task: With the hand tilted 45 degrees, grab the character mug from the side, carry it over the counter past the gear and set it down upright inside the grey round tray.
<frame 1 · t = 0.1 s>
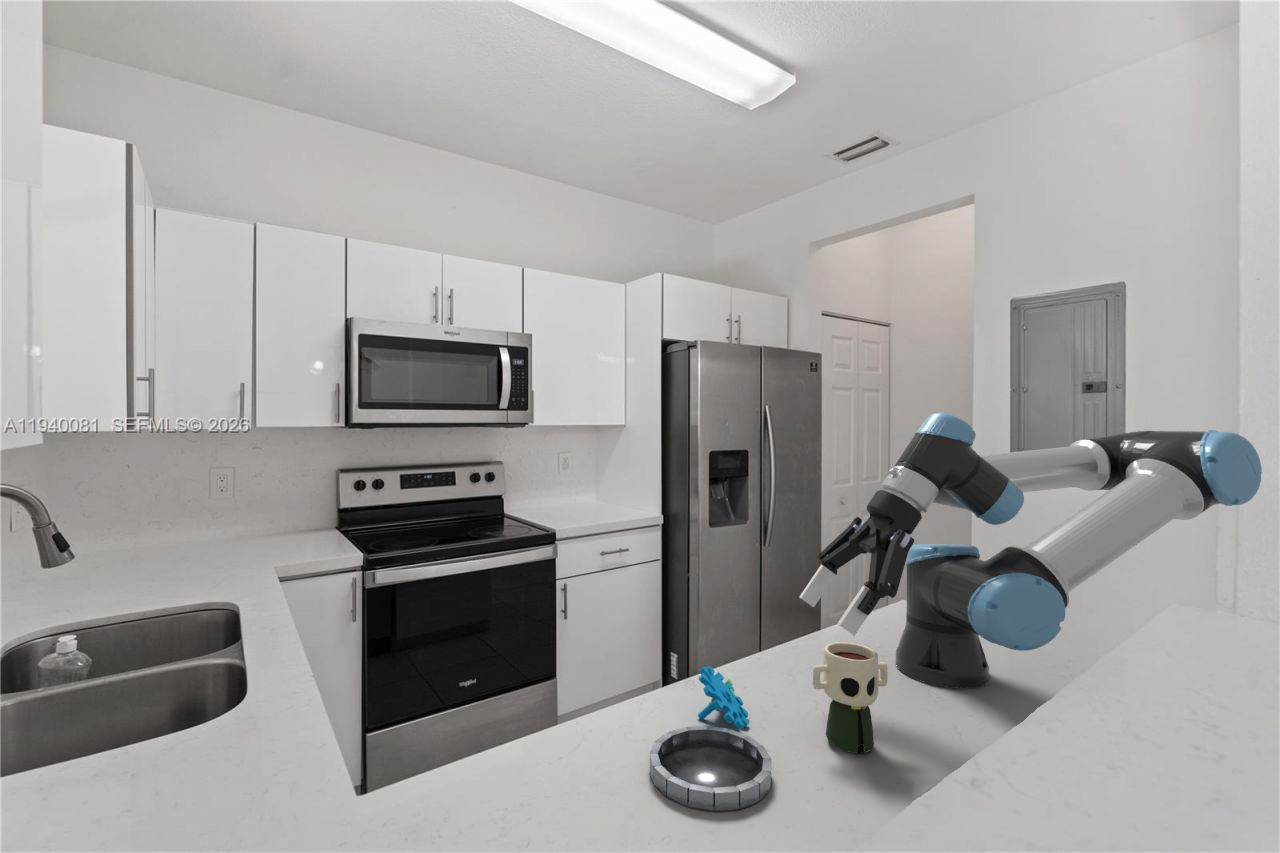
hand: (824, 615, 91), 15 cm above the countertop, tool tilted 35°, fingers open, 13 cm apart
gear: (723, 721, 89), on the countertop
grey round tray: (709, 773, 75), on the countertop
character mug: (849, 746, 82), on the countertop
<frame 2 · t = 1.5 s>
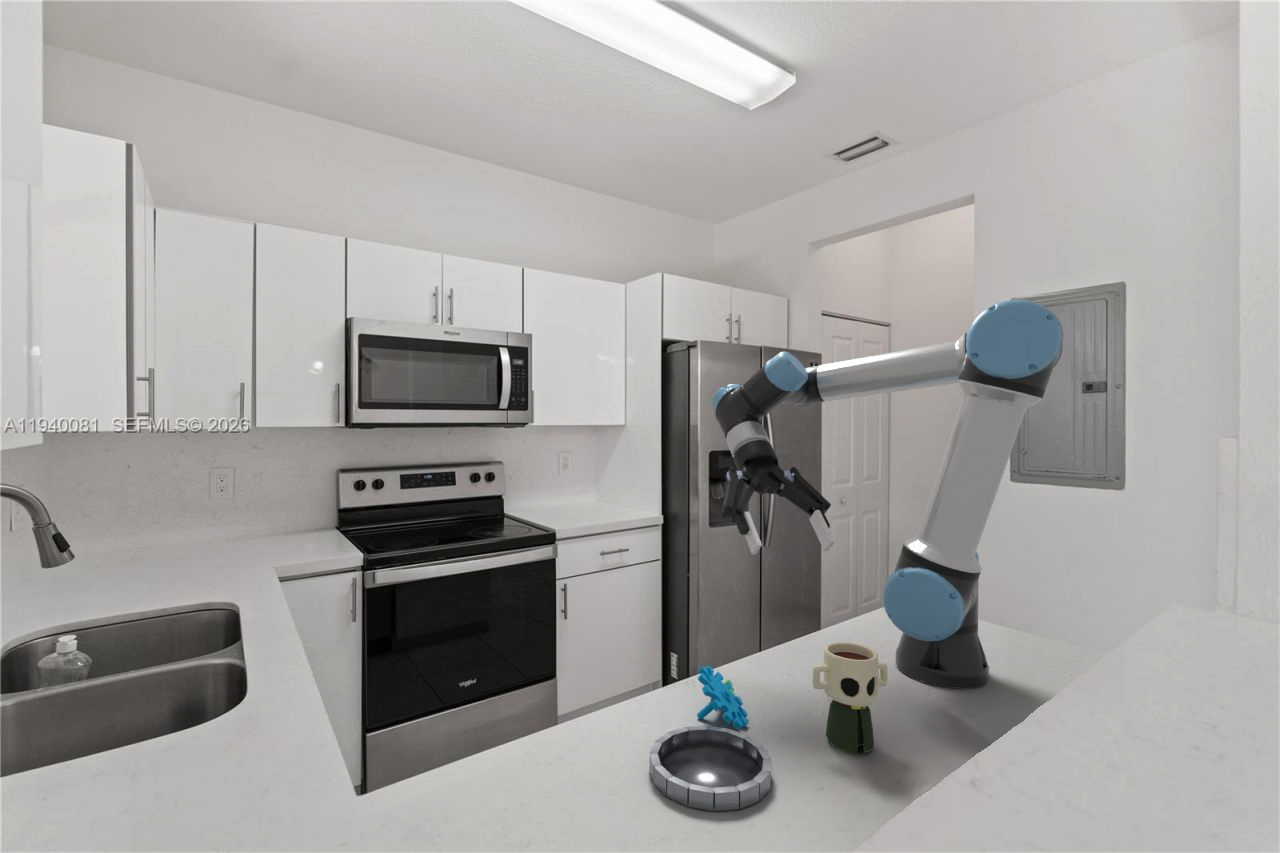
hand: (794, 548, 97), 24 cm above the countertop, tool tilted 45°, fingers open, 13 cm apart
nothing on the countertop moved.
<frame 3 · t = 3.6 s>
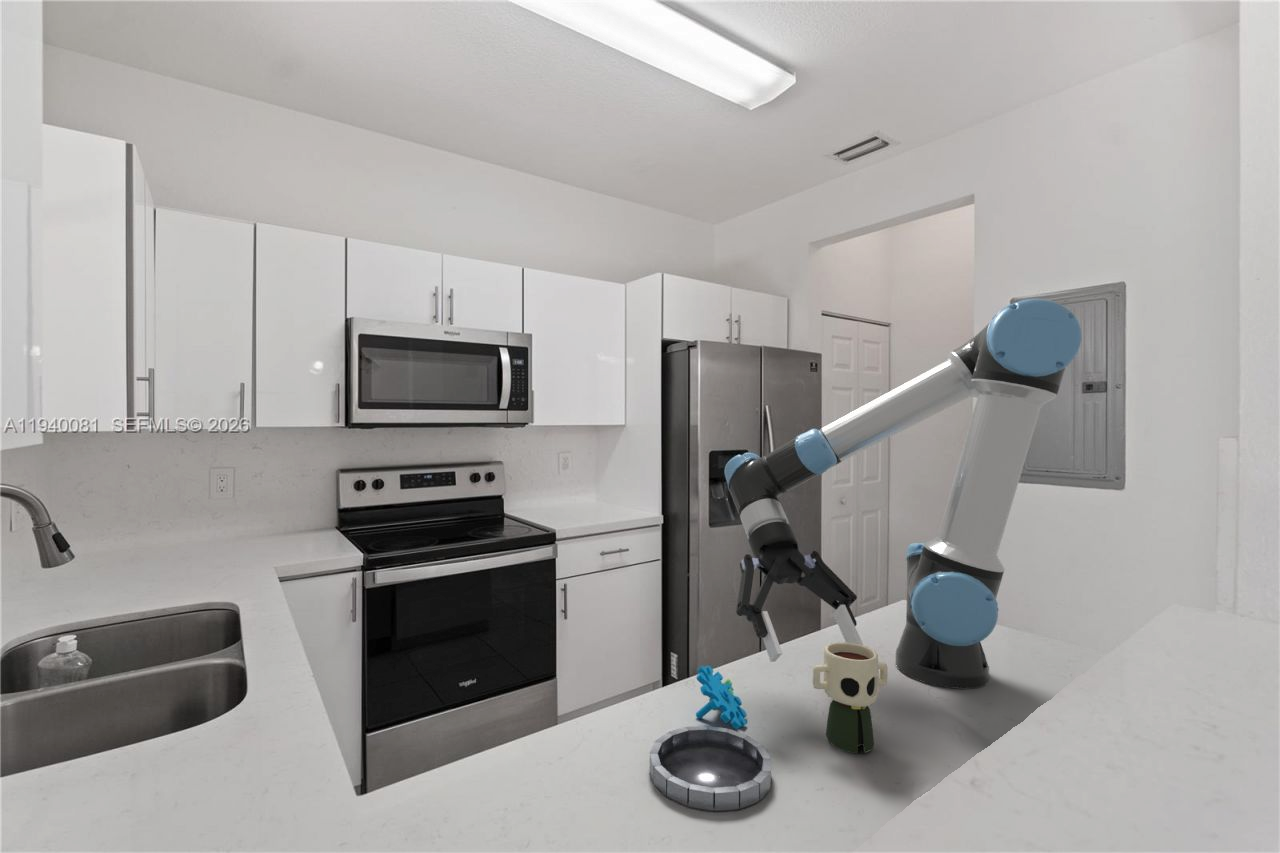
hand: (817, 653, 87), 11 cm above the countertop, tool tilted 45°, fingers open, 13 cm apart
nothing on the countertop moved.
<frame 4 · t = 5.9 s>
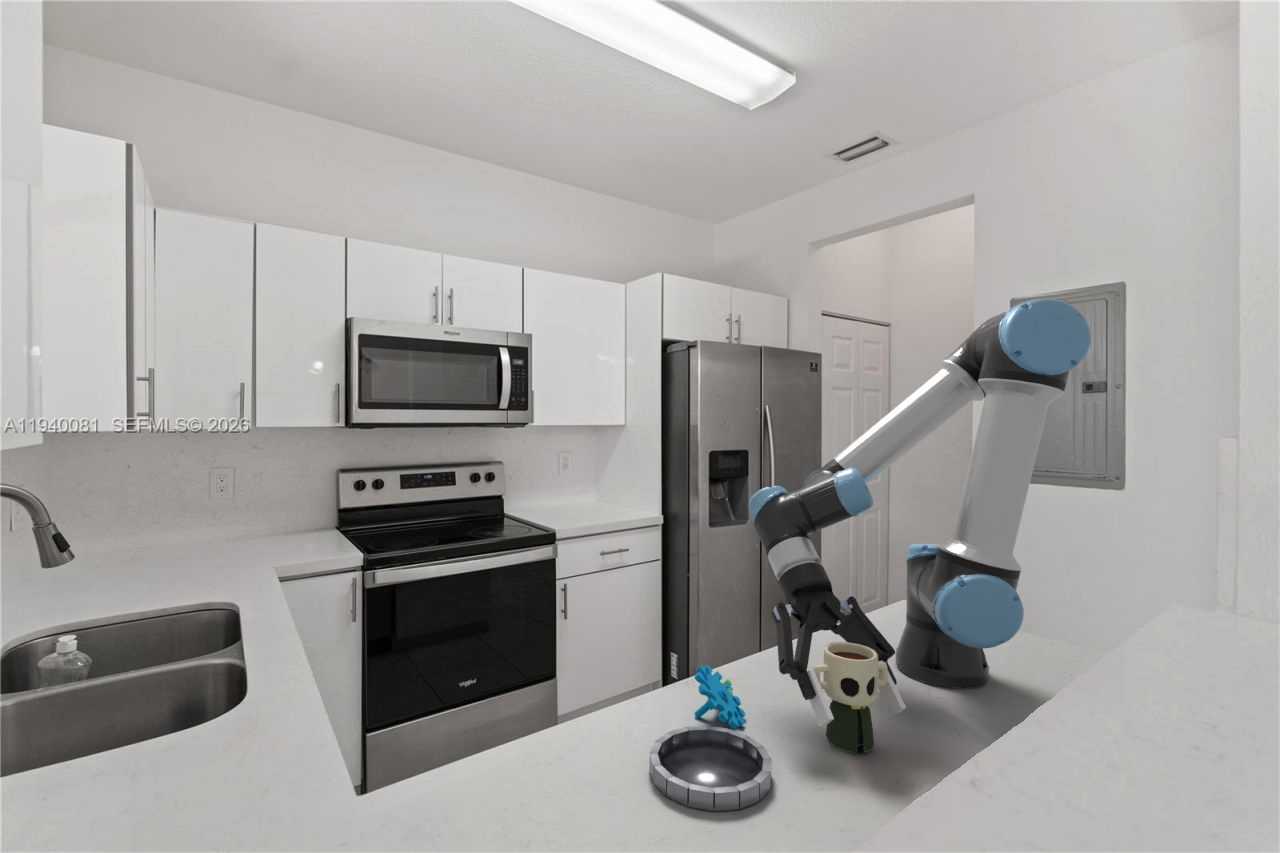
hand: (863, 717, 79), 5 cm above the countertop, tool tilted 45°, fingers closed on character mug, 11 cm apart
character mug: (849, 746, 82), on the countertop, touching gripper
everything else where it was.
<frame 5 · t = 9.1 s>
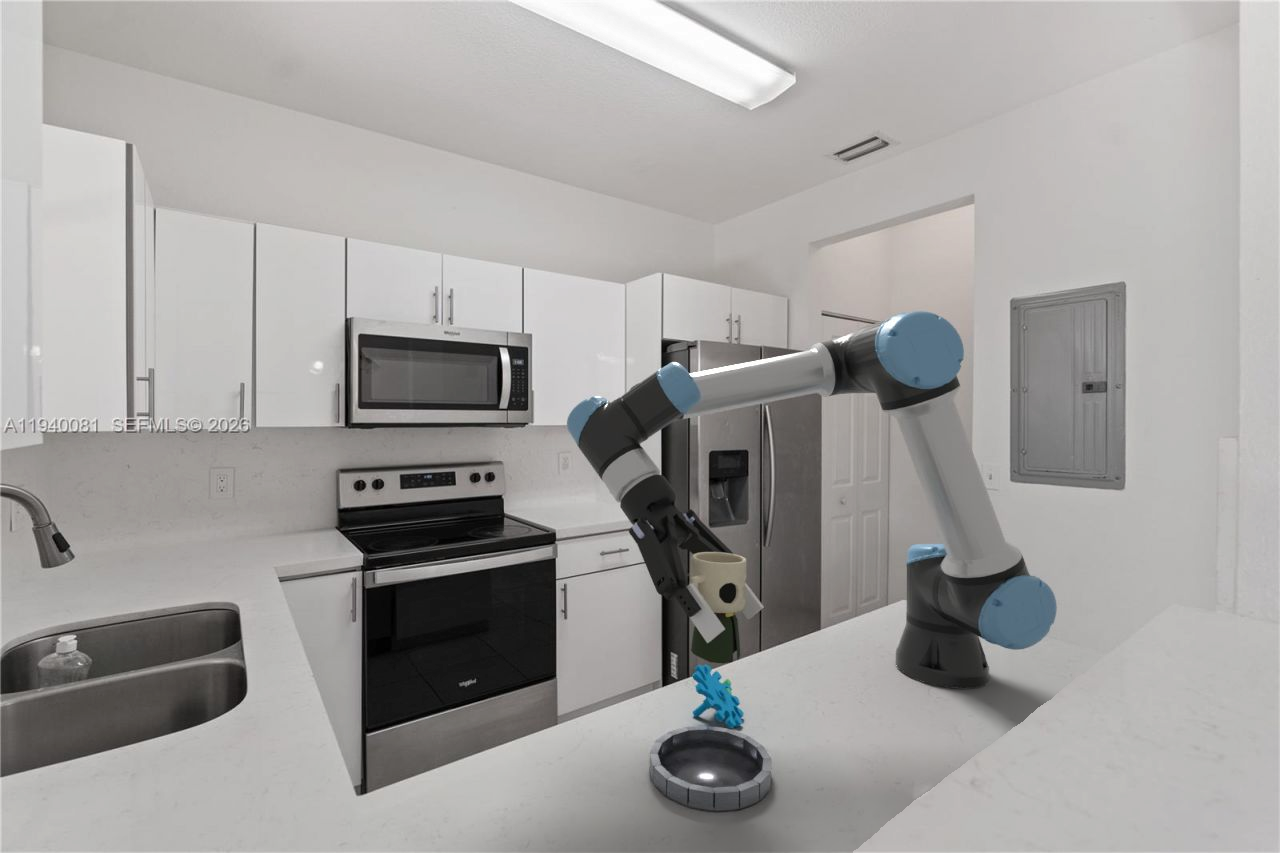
hand: (737, 624, 75), 19 cm above the countertop, tool tilted 45°, fingers closed on character mug, 11 cm apart
character mug: (715, 659, 76), point 14 cm above the countertop, touching gripper
everything else where it was.
when the fingers open (7 cm above the countertop, at t = 12.3 s): character mug drops 2 cm, resting on grey round tray.
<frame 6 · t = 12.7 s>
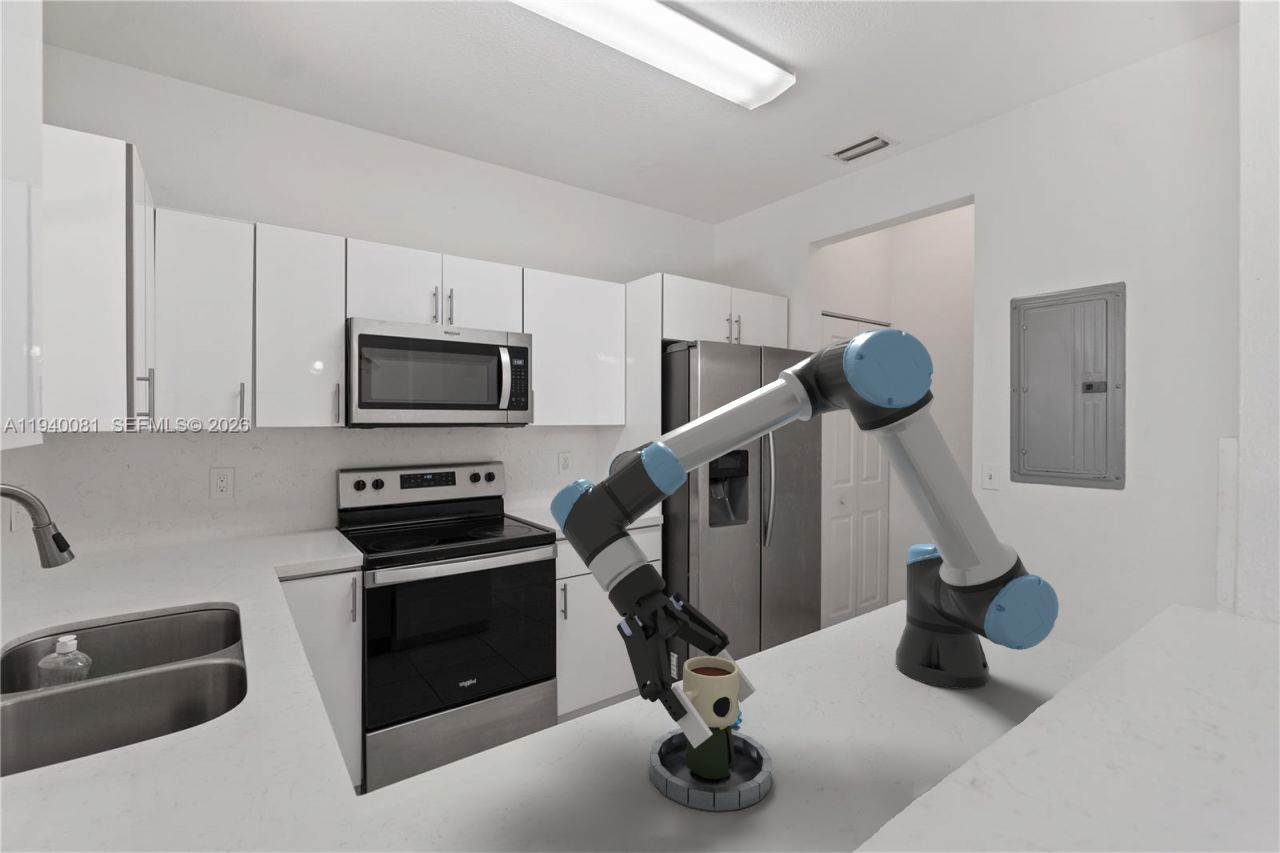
hand: (727, 717, 73), 8 cm above the countertop, tool tilted 45°, fingers open, 13 cm apart
character mug: (709, 770, 75), resting on grey round tray
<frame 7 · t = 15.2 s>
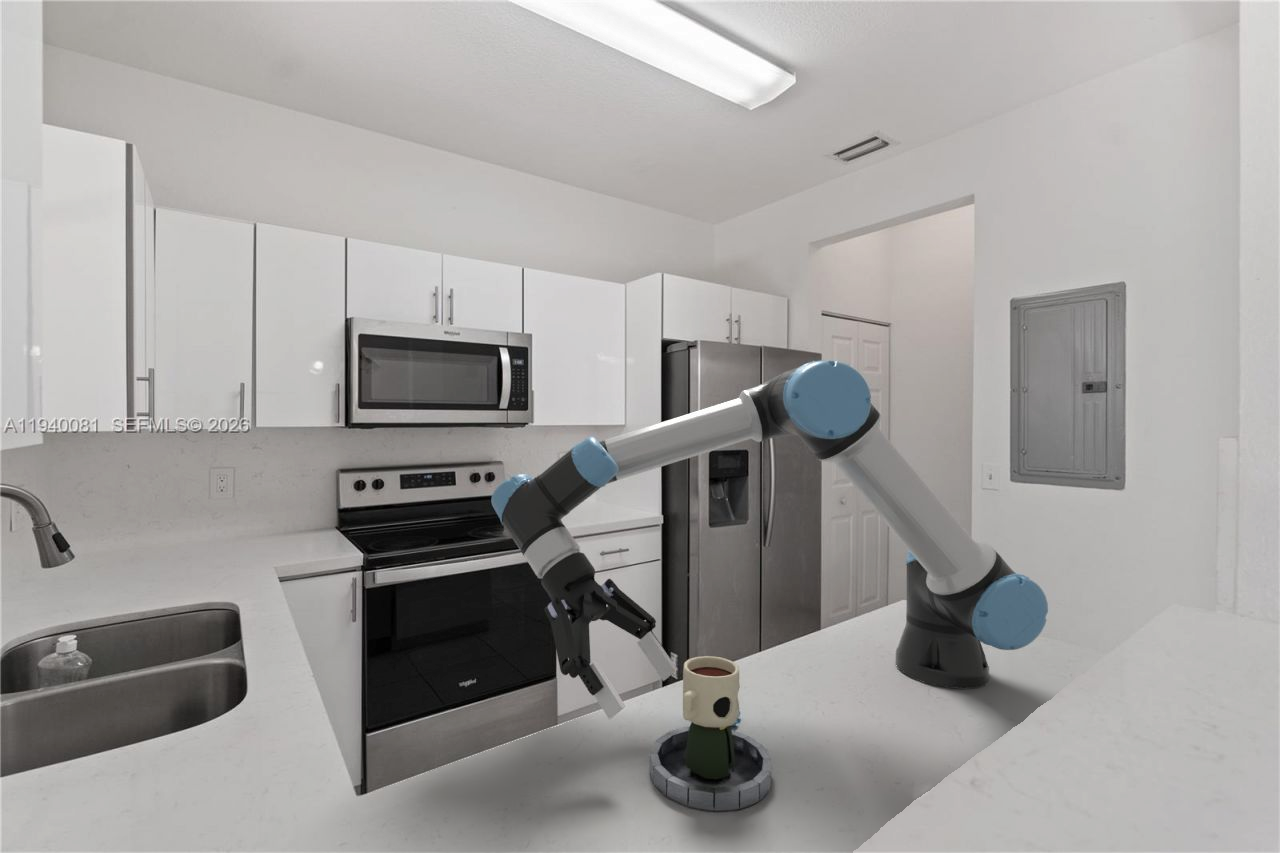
hand: (646, 693, 80), 8 cm above the countertop, tool tilted 45°, fingers open, 13 cm apart
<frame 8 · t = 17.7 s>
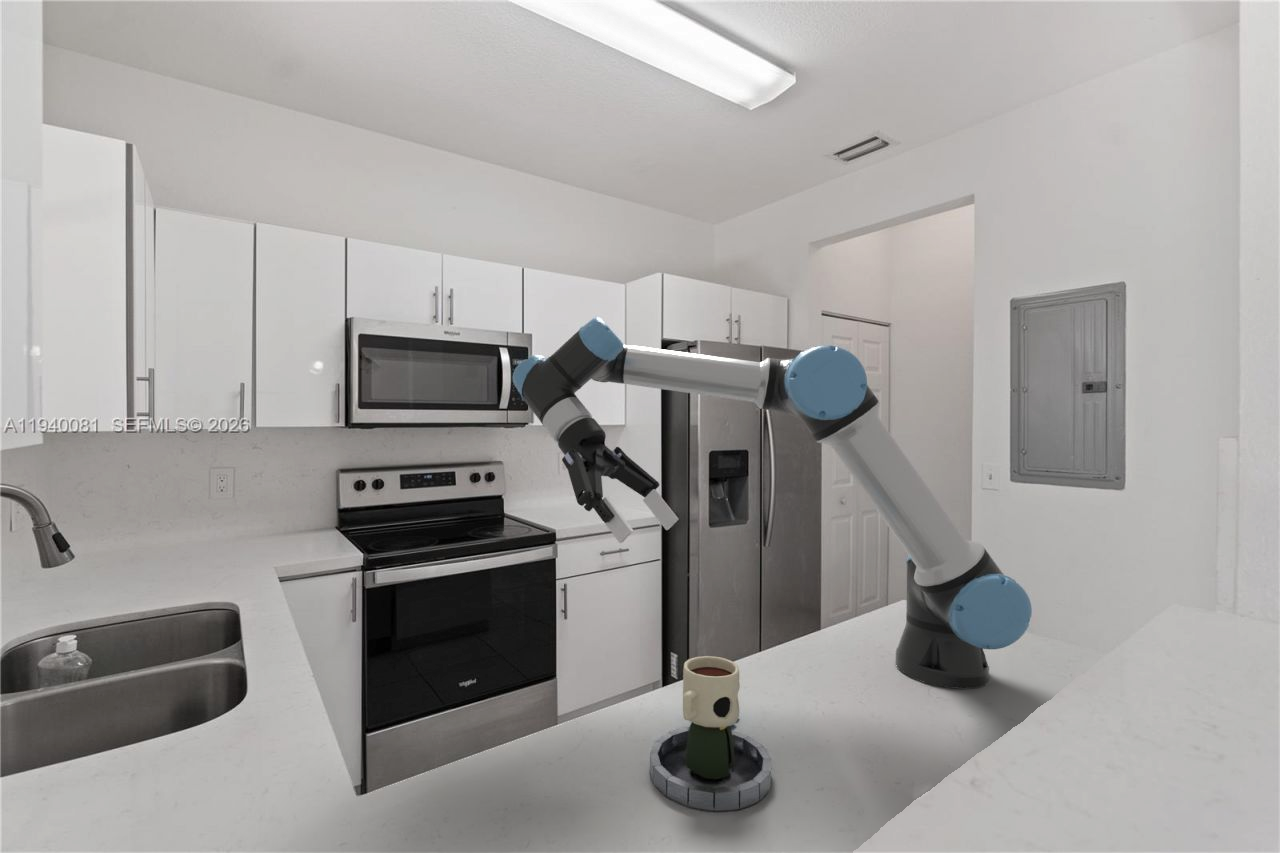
hand: (651, 530, 91), 28 cm above the countertop, tool tilted 45°, fingers open, 13 cm apart
at the end: character mug 0.2 cm off-centre on the grey round tray, point 0.2 cm above the grey round tray's base; character mug tilted 0°; the gripper is holding nothing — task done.
